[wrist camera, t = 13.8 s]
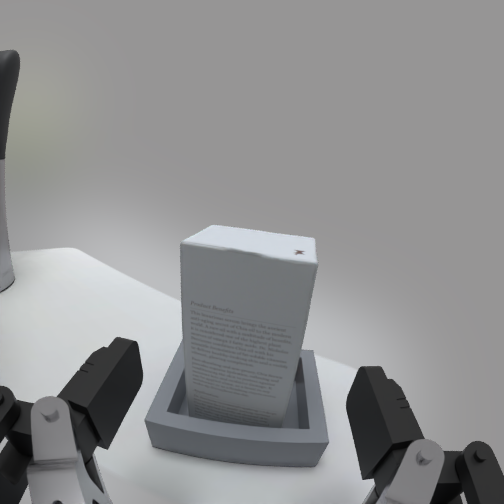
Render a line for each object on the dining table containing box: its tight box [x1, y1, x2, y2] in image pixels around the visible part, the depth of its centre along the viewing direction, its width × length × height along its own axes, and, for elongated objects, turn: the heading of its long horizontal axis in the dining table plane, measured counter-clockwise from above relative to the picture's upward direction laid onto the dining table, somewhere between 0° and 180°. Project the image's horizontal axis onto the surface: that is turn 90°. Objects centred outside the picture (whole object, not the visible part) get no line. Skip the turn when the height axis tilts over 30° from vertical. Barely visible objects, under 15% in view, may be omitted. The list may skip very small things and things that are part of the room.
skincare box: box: [180, 225, 318, 428], centre depth 15 cm, size 6×4×12 cm
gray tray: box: [145, 339, 329, 467], centre depth 17 cm, size 10×9×3 cm
